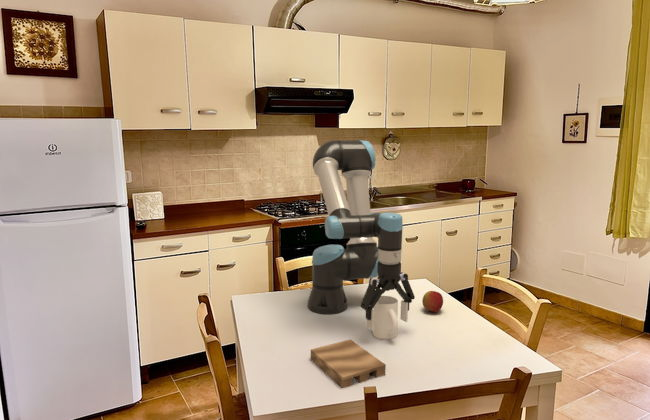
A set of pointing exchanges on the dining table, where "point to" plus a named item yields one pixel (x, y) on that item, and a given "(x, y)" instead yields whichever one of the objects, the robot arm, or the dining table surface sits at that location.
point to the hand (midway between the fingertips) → (387, 324)
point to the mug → (385, 318)
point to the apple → (432, 301)
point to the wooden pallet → (347, 362)
